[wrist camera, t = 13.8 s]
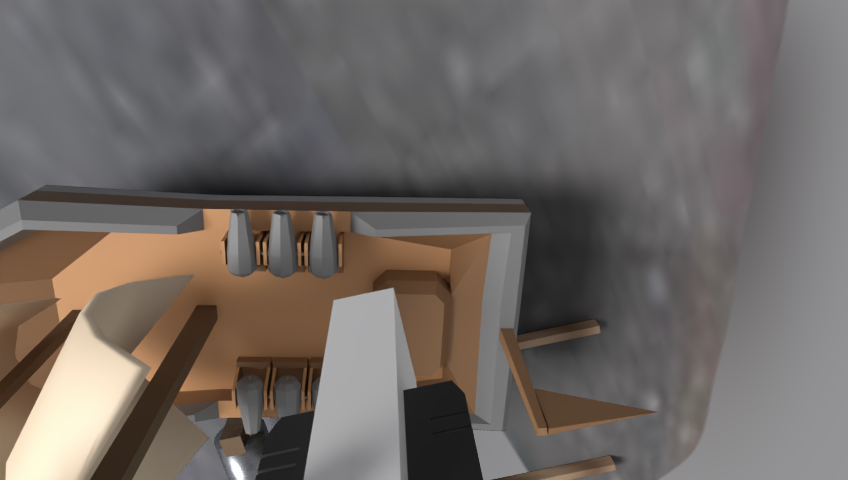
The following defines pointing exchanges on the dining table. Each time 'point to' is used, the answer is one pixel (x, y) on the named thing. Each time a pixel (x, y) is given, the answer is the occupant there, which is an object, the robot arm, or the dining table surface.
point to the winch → (240, 449)
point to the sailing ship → (240, 317)
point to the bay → (561, 475)
